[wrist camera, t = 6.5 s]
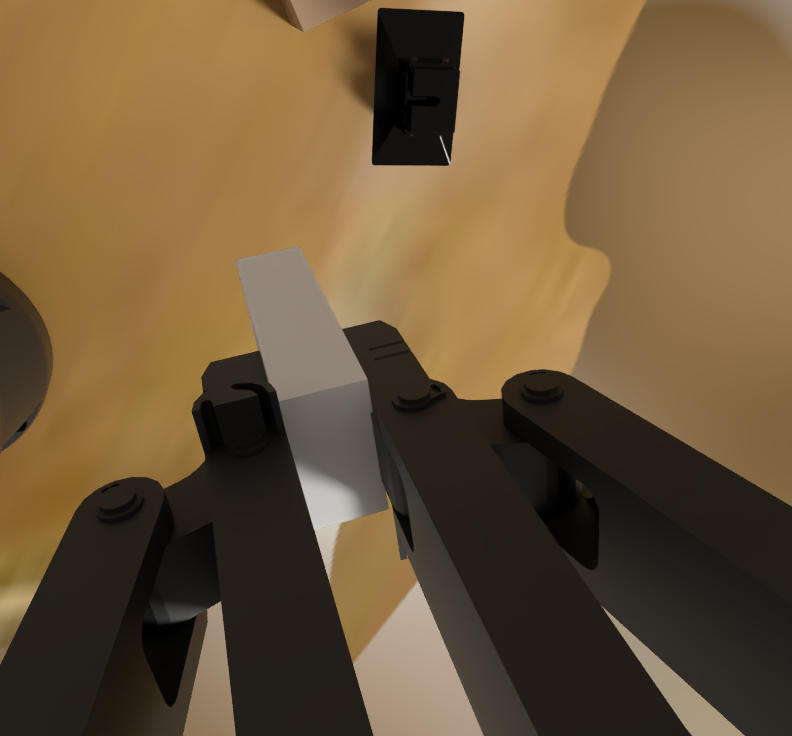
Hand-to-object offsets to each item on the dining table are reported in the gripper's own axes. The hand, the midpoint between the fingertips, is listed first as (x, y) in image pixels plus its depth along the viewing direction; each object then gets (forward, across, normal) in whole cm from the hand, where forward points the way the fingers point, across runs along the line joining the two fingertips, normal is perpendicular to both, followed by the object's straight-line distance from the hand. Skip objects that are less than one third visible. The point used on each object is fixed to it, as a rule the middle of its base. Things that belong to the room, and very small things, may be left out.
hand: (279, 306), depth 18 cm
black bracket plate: (+33, +13, -2) cm, 35 cm away
